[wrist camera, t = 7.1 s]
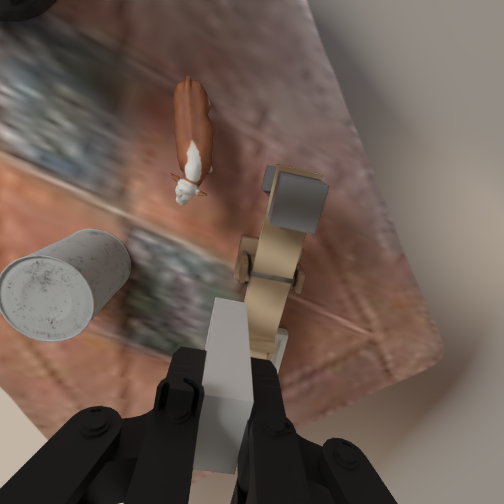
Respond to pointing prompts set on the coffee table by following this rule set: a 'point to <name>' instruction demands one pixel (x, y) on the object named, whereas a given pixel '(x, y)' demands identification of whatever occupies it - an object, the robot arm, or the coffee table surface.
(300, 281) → the fulcrum
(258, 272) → the lever
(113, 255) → the grey metal can
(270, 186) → the block
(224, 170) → the coffee table surface
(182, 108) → the bull figurine
